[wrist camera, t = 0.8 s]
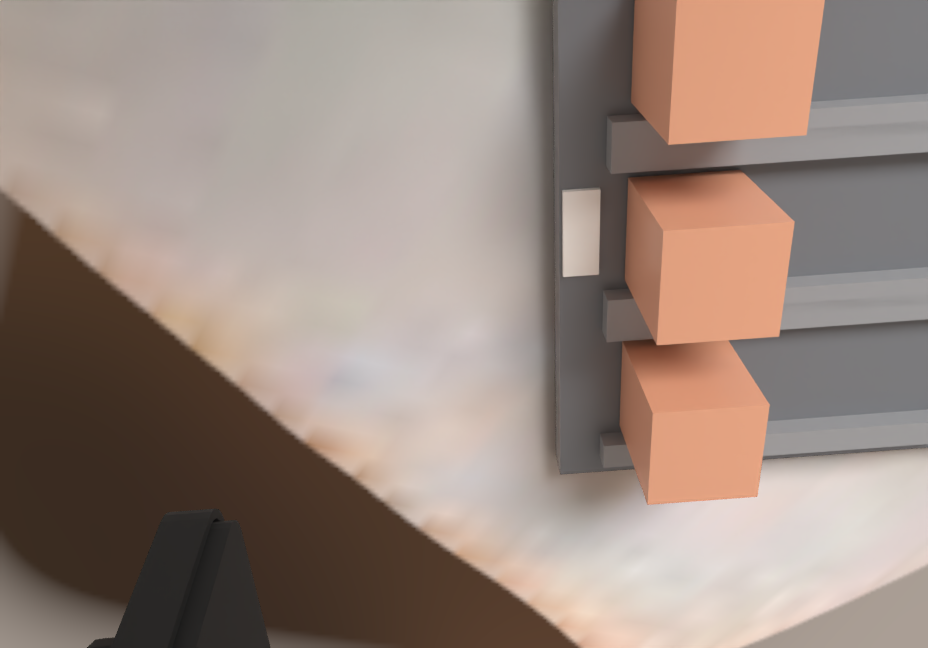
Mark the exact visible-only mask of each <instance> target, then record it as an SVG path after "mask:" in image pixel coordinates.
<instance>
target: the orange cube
mask: <svg viewBox="0 0 928 648" xmlns="http://www.w3.org/2000/svg"><path fill="white" fill-rule="evenodd" d="M769 407H770V404H769V403H768V401H767V400H766V398H765V397H764V395H763V393H762V392H761V390H760V389H759V387H758V386H757V384H756V383H755V381H754V379H753V378H752V376H751V375H750V373H749V372H748V370H747V369H746V367H745V365H744V364H743V362H742V361H741V359H740V358H739V356H738V355H737V353H736V352H735V350H734V348H733V347H732V345H731V344H730V342H729V341H728V340H725V341H711V342H697V343H683V344H669V345H656V343H655V341H654V339H646V340H632V341H622V367H621V395H620V423H619V425H620V428H621V431H622V434H623V436H624V439H625V442H626V445H627V448H628V451H629V453H630V456H631V459H632V462H633V465H634V468H635V470H636V473H637V476H638V479H639V482H640V485H641V487H642V490H643V493H644V496H645V499H646V502H647V504H648V505H650V504H664V503H677V502H691V501H704V500H718V499H732V498H745V497H757V495H758V488H759V481H760V473H761V466H762V458H763V451H764V444H765V436H766V429H767V422H768V414H769Z"/></svg>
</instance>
